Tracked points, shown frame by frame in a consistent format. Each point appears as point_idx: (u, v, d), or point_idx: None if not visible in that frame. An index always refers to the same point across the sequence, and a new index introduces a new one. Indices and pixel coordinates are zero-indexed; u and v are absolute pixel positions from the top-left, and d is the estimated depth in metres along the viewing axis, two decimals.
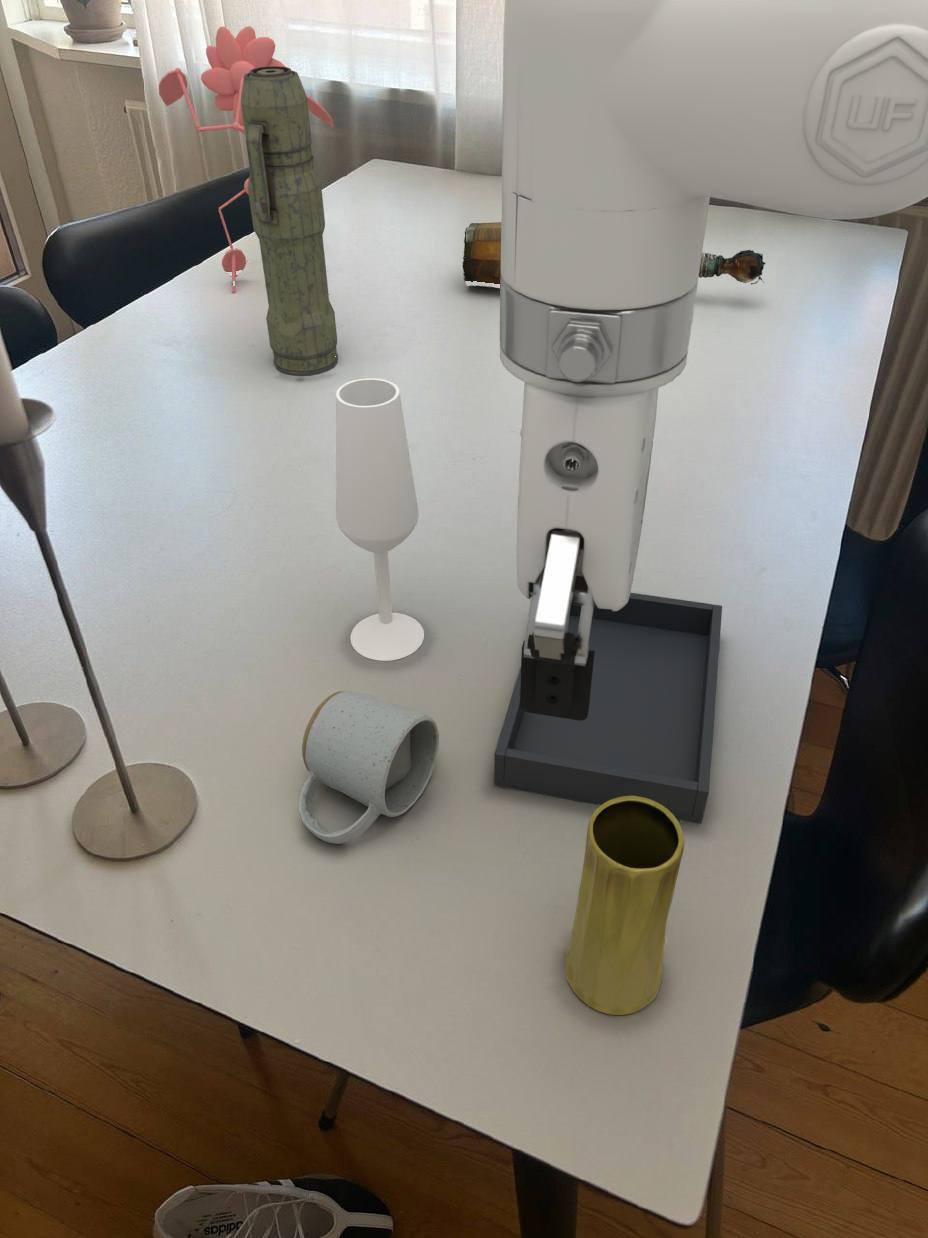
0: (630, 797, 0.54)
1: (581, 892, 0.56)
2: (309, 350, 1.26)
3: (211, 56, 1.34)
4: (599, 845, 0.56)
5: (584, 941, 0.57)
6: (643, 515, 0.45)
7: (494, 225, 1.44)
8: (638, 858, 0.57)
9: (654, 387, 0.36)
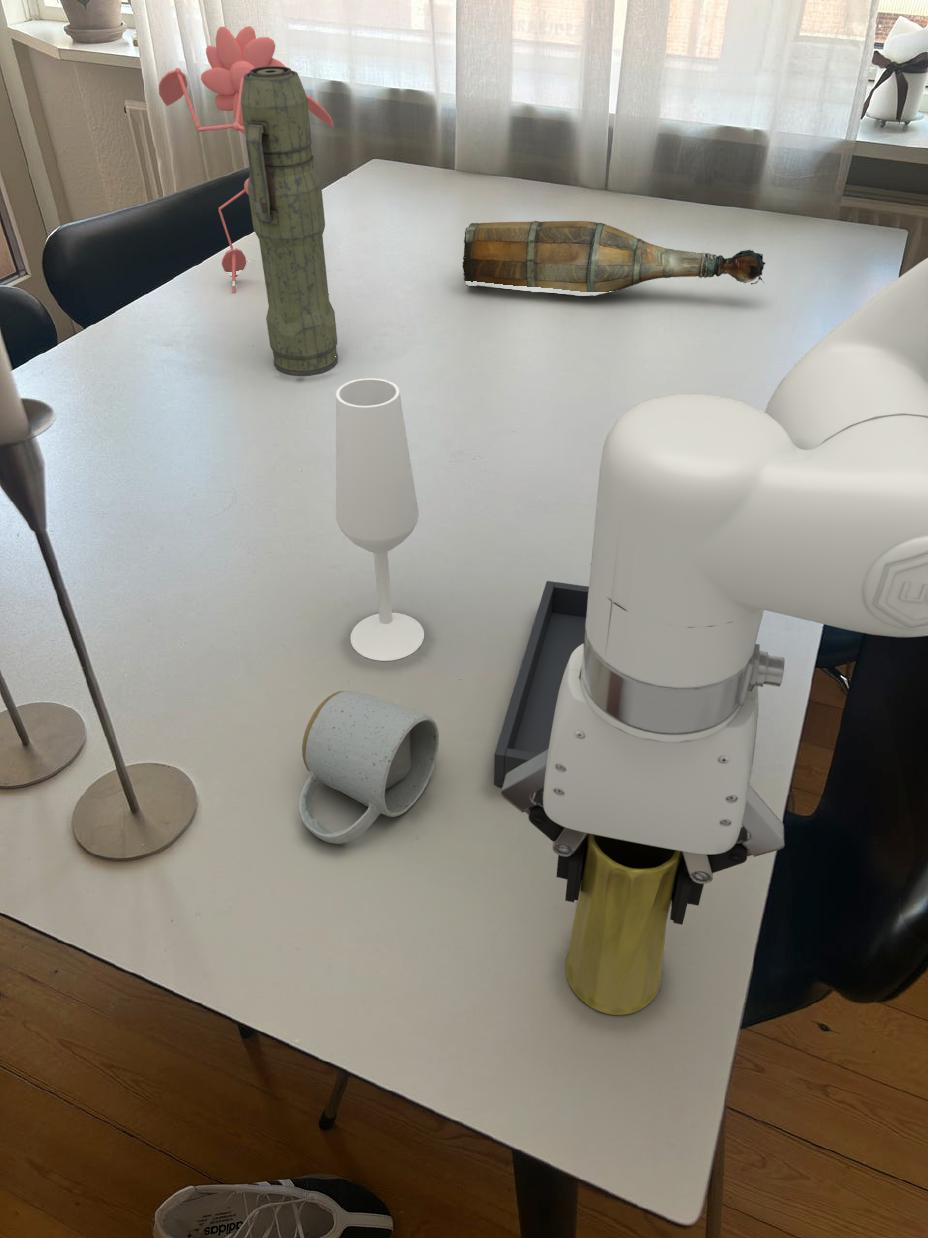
0: None
1: (581, 892, 0.56)
2: (309, 350, 1.26)
3: (211, 56, 1.34)
4: (599, 845, 0.56)
5: (584, 941, 0.57)
6: None
7: (494, 225, 1.44)
8: (638, 858, 0.57)
9: None
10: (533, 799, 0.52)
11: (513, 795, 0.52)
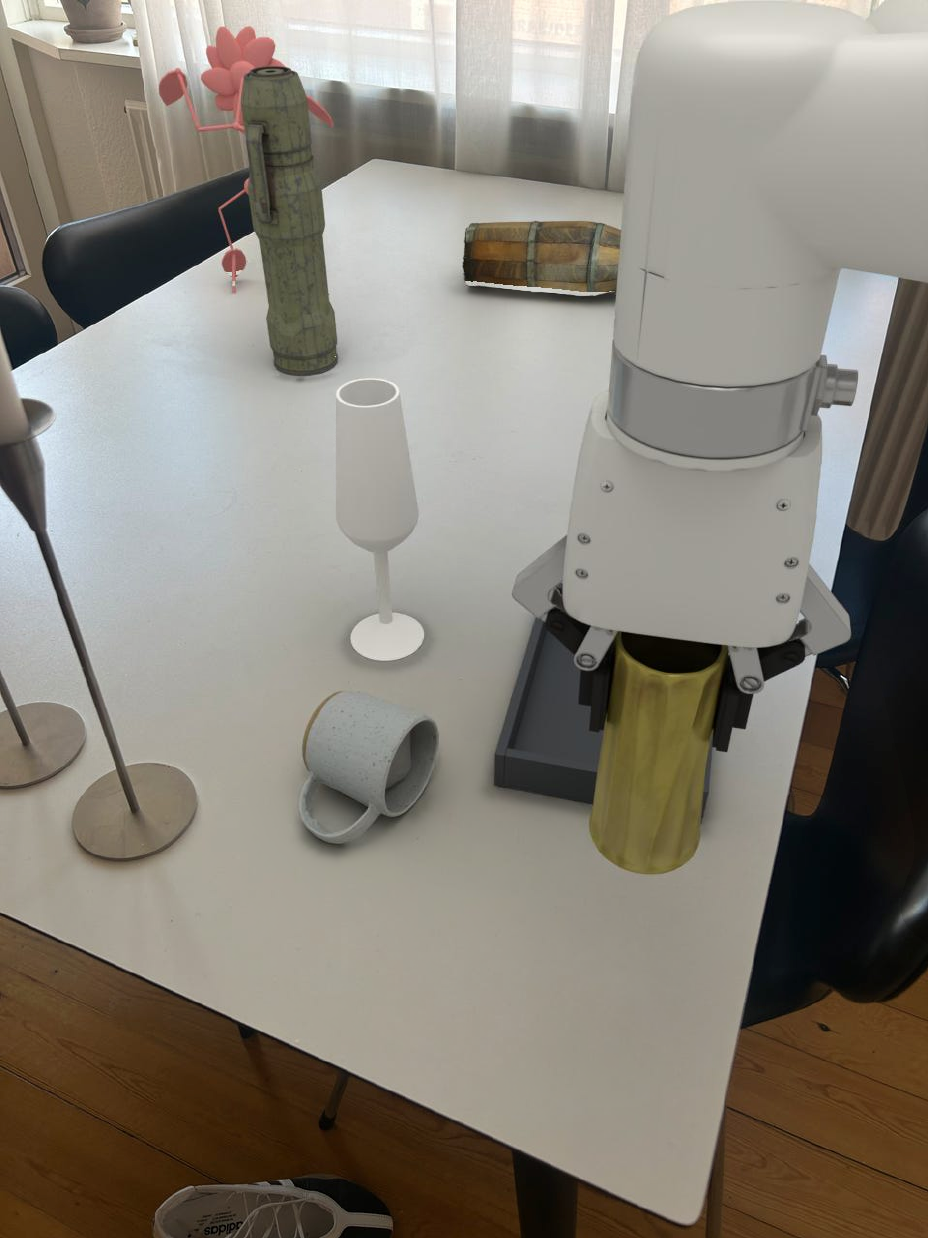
0: None
1: (607, 723, 0.48)
2: (309, 350, 1.26)
3: (211, 56, 1.34)
4: None
5: (611, 783, 0.49)
6: None
7: (494, 225, 1.44)
8: None
9: None
10: (550, 600, 0.44)
11: (527, 595, 0.44)
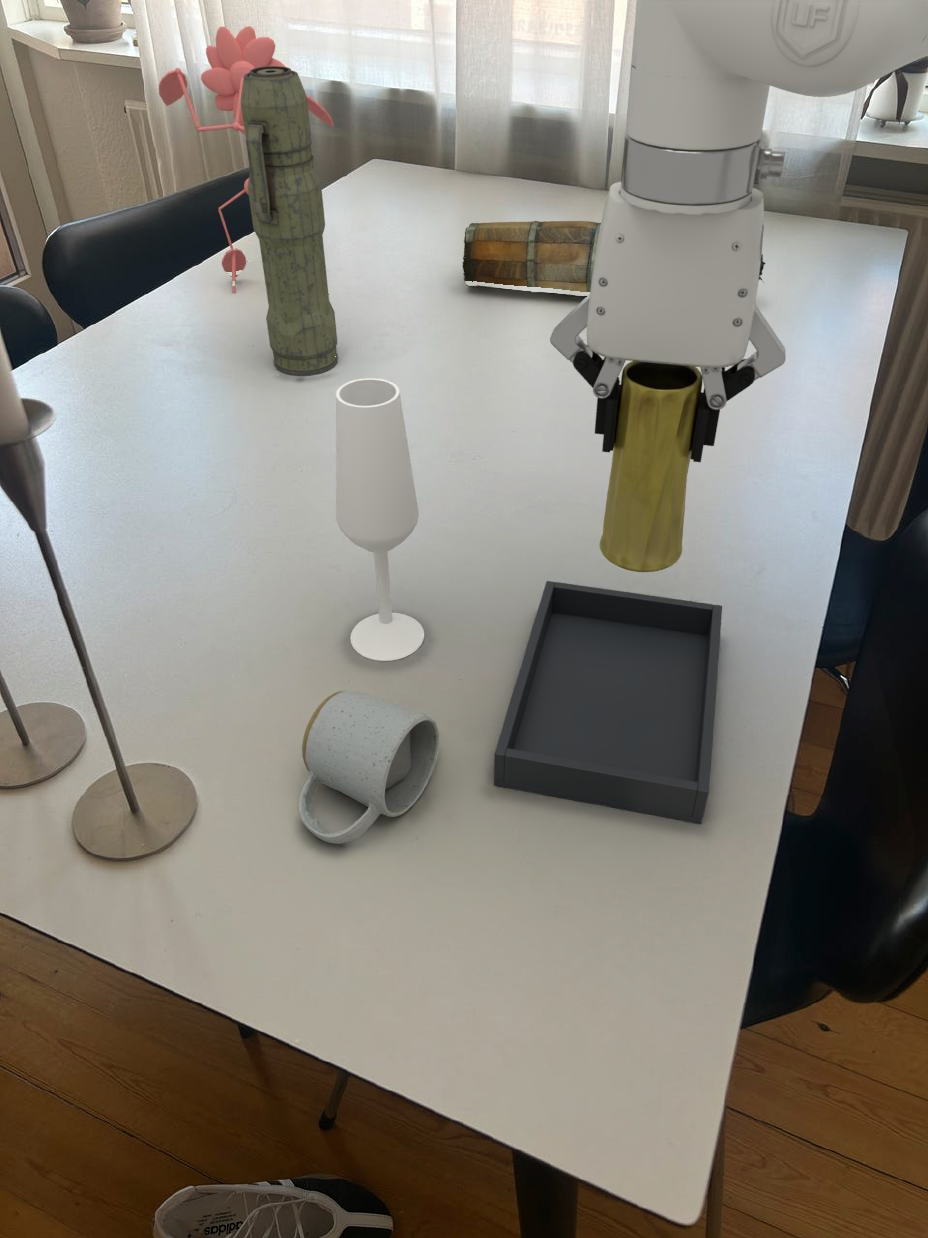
0: None
1: (615, 447, 0.67)
2: (309, 350, 1.26)
3: (211, 56, 1.34)
4: None
5: (617, 494, 0.68)
6: None
7: (494, 225, 1.44)
8: None
9: None
10: (577, 343, 0.63)
11: (560, 340, 0.63)
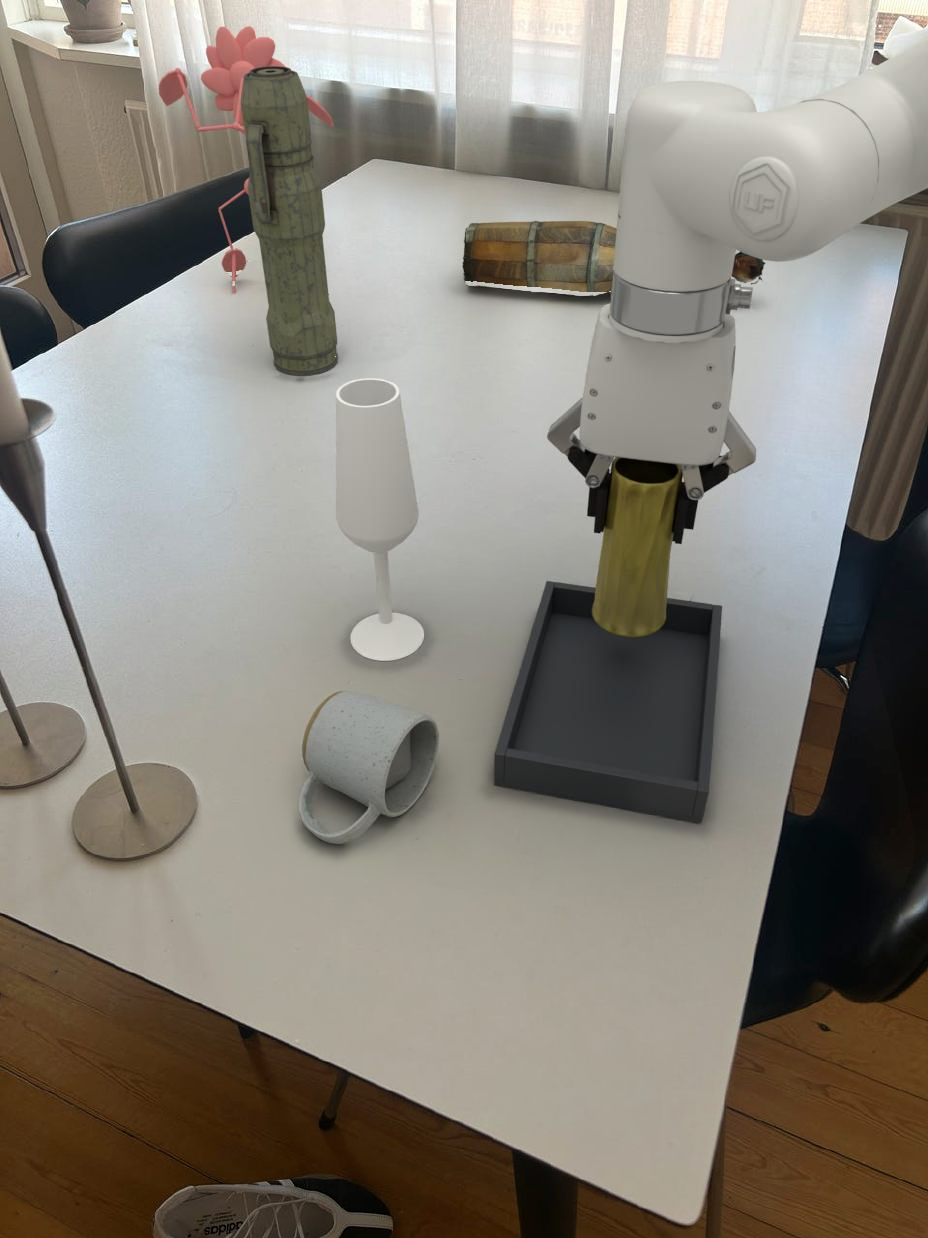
0: None
1: (605, 528, 0.74)
2: (309, 350, 1.26)
3: (211, 56, 1.34)
4: None
5: (607, 569, 0.75)
6: None
7: (494, 225, 1.44)
8: None
9: None
10: (571, 440, 0.71)
11: (556, 437, 0.71)
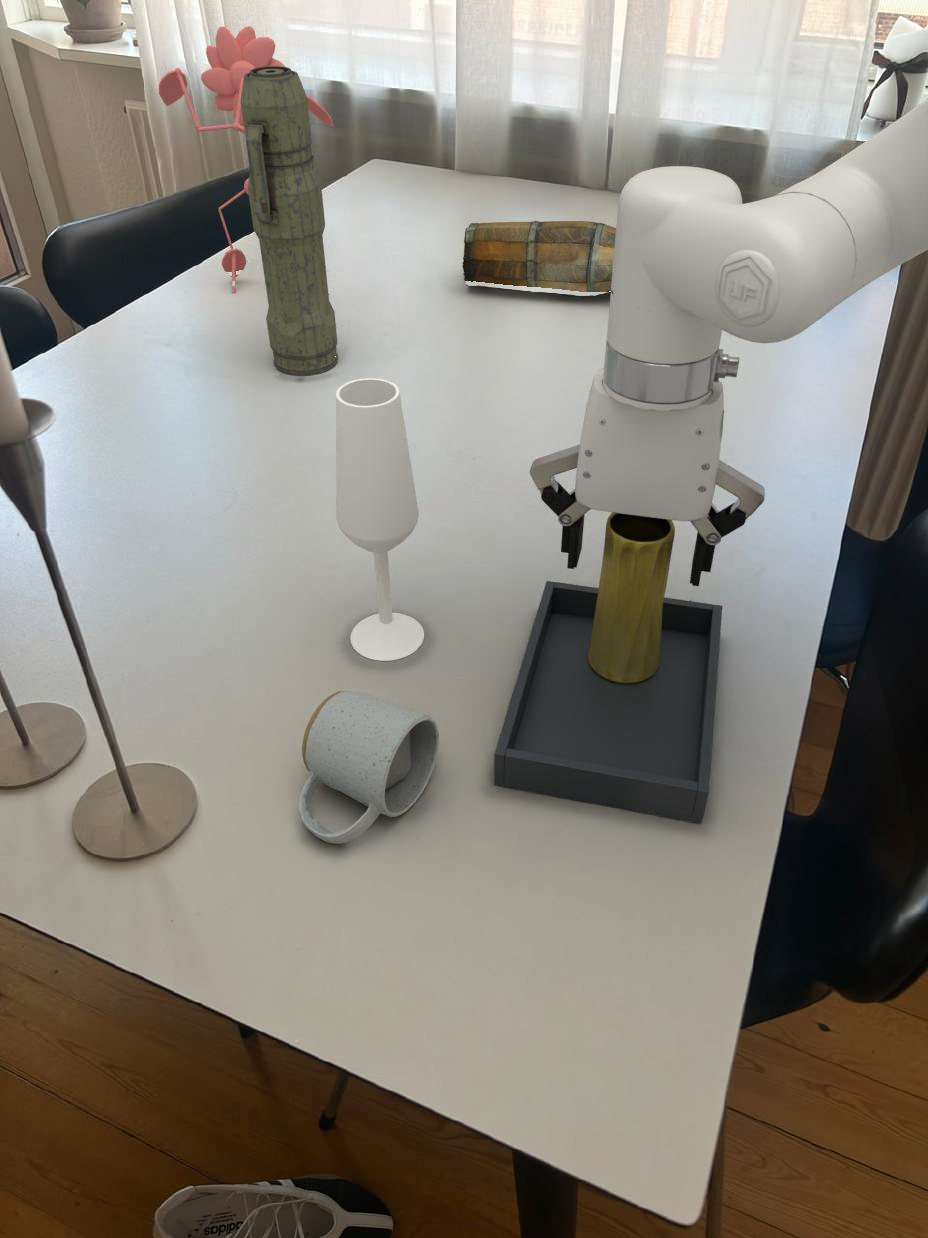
0: None
1: (601, 580, 0.78)
2: (309, 350, 1.26)
3: (211, 56, 1.34)
4: None
5: (603, 619, 0.79)
6: None
7: (494, 225, 1.44)
8: None
9: None
10: (550, 480, 0.73)
11: (538, 473, 0.73)
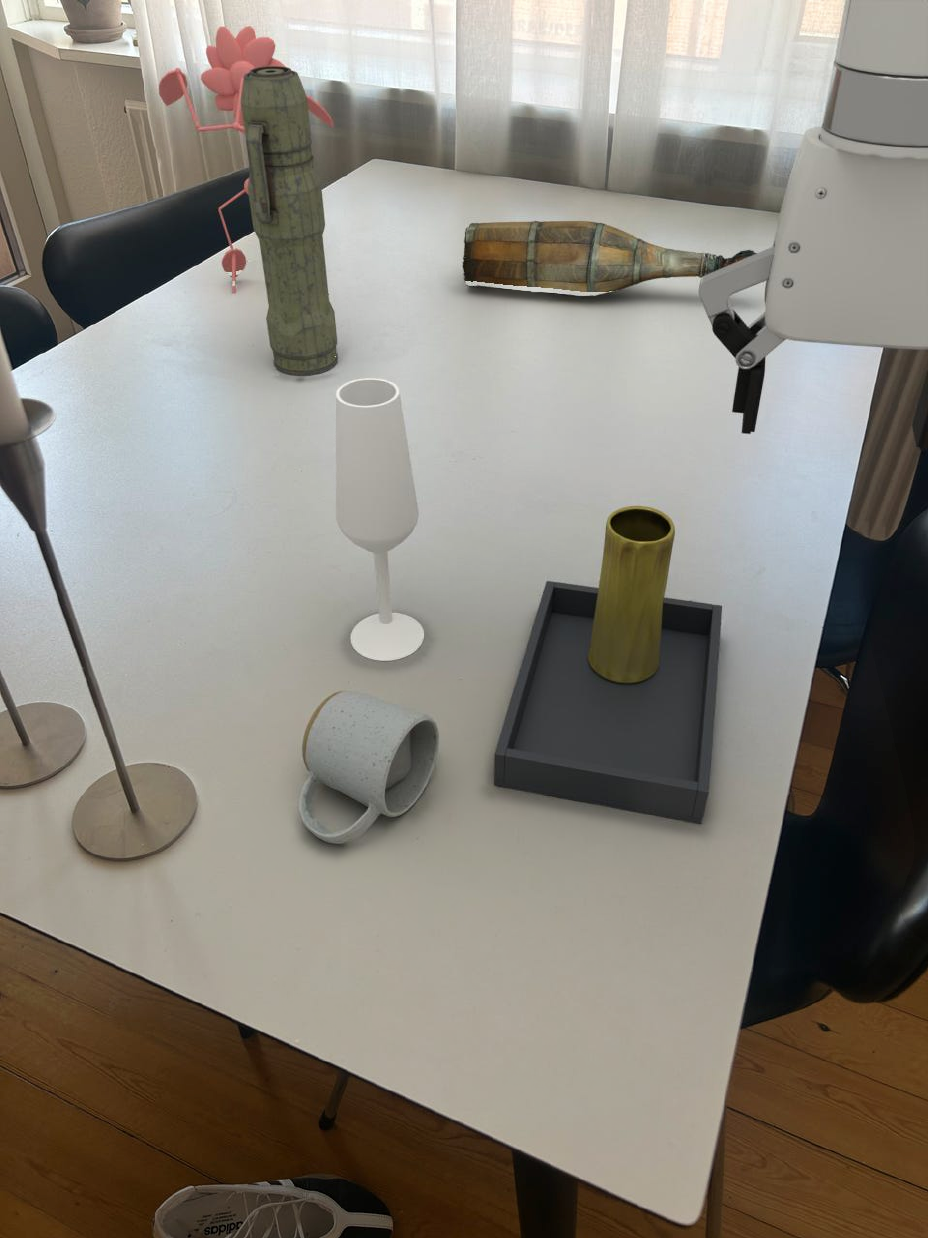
0: (636, 506, 0.76)
1: (601, 580, 0.78)
2: (309, 350, 1.26)
3: (211, 56, 1.34)
4: None
5: (603, 619, 0.79)
6: None
7: (494, 225, 1.44)
8: None
9: None
10: (727, 302, 0.53)
11: (711, 292, 0.53)
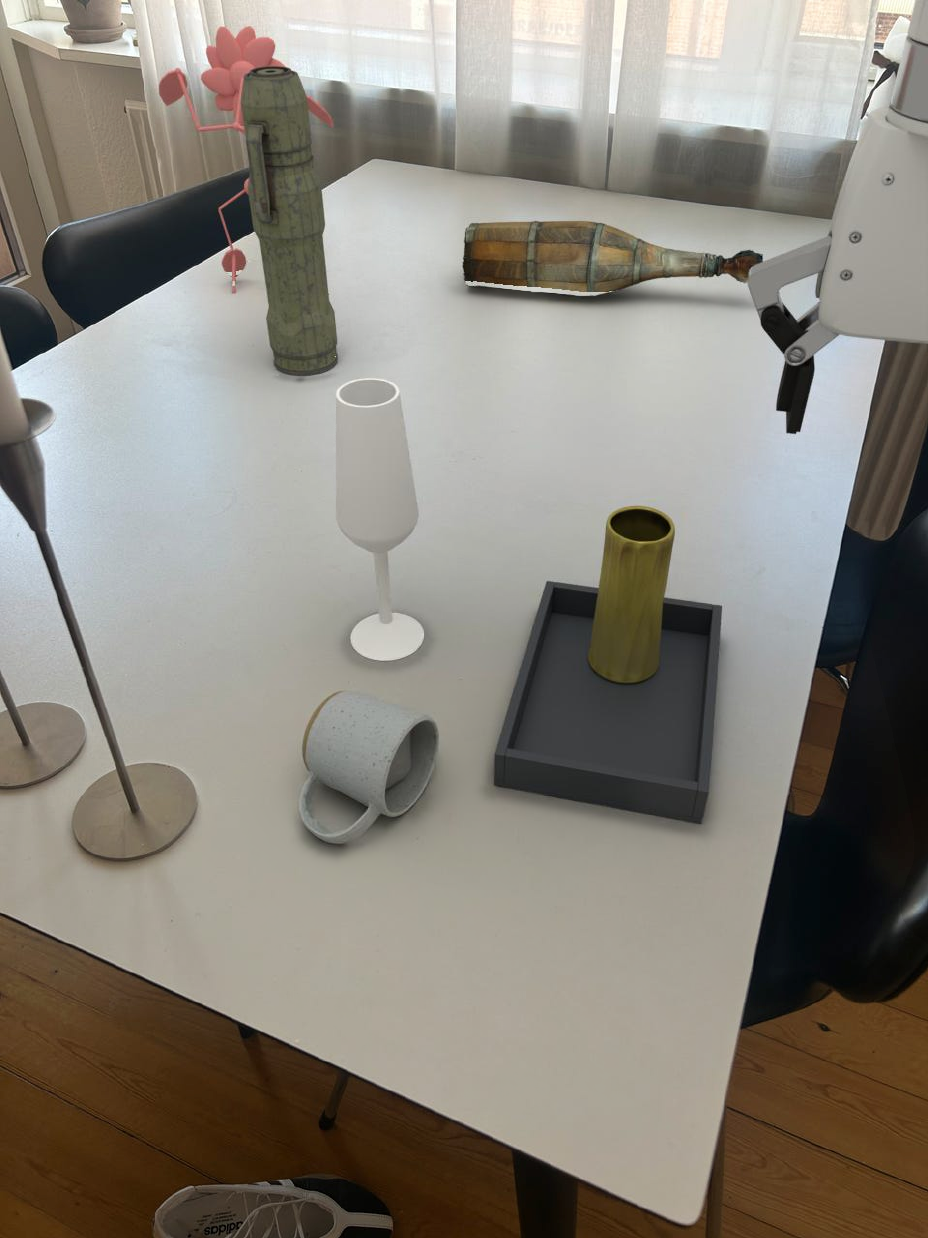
0: (636, 506, 0.76)
1: (601, 580, 0.78)
2: (309, 350, 1.26)
3: (211, 56, 1.34)
4: None
5: (603, 619, 0.79)
6: None
7: (494, 225, 1.44)
8: None
9: None
10: (778, 294, 0.50)
11: (761, 283, 0.50)
